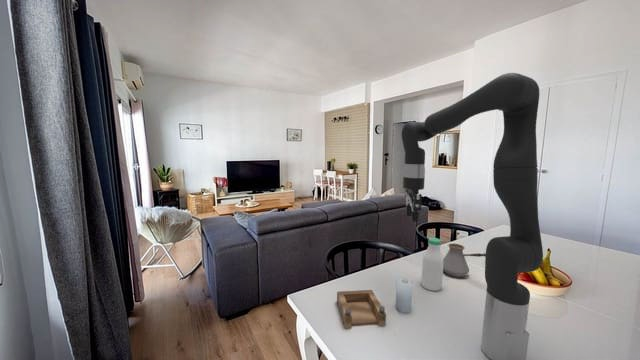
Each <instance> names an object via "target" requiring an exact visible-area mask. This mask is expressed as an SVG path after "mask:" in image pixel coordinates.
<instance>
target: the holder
mask: <svg viewBox="0 0 640 360" xmlns="http://www.w3.org/2000/svg"><path fill="white" fill-rule="evenodd" d="M336 295H337V296H336V304H337V307H338V309H339V313H340V317H341V319H342V323H343V326H344V329H352V328H353V327H356V326H358V327H359V326H371V325H374V326H375V325H378V326H379V327H386V325H387V322H386V321H387V313H386V311H385V310H386V308H385V306H383V305H382V304H381V303H380V301H379V299H378V298H377V296H376V294H375V293H374V291H373V289H364V290H362V289H361V290H345V291H344V290H343V291H337V292H336Z"/></svg>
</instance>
